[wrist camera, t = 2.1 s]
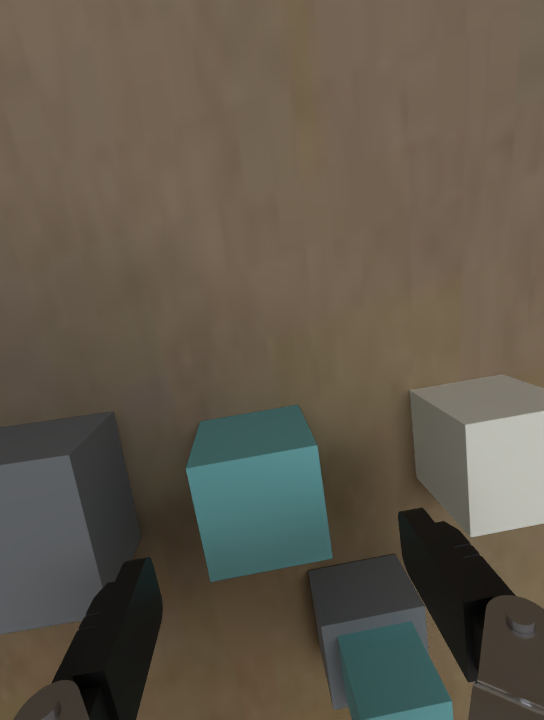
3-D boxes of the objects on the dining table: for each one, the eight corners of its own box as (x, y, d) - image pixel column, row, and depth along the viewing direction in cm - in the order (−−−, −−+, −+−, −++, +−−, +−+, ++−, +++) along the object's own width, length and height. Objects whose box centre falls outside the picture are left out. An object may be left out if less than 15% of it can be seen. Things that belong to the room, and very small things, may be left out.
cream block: (415, 477, 20) (470, 537, 16) (408, 389, 19) (465, 424, 14) (503, 461, 21) (584, 515, 16) (501, 373, 20) (587, 403, 15)
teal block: (218, 508, 20) (210, 582, 15) (200, 421, 19) (185, 468, 14) (310, 492, 20) (332, 558, 15) (297, 404, 19) (317, 445, 14)
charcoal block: (6, 556, 20) (-73, 646, 15) (-32, 430, 18) (-134, 484, 13) (141, 534, 20) (109, 615, 15) (114, 410, 18) (68, 455, 14)
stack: (319, 643, 22) (354, 806, 15) (308, 570, 21) (340, 710, 14) (402, 626, 22) (474, 779, 15) (395, 553, 21) (468, 683, 14)
